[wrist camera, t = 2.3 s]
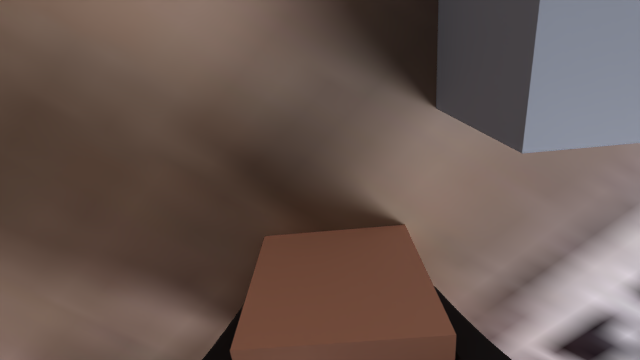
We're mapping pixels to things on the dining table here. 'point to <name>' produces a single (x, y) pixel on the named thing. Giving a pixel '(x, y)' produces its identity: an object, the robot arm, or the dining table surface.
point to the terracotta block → (342, 300)
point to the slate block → (542, 71)
